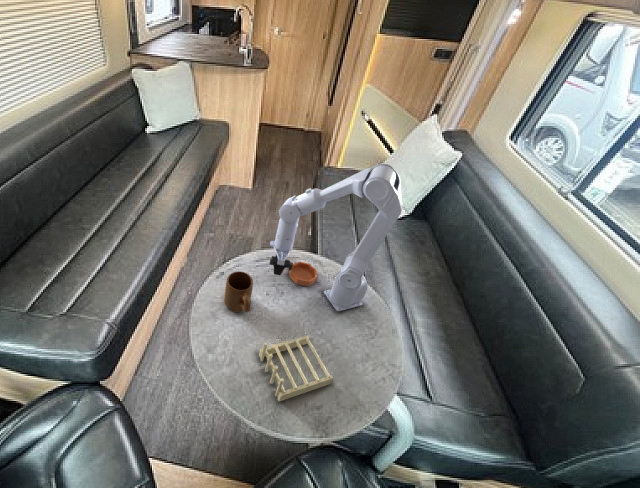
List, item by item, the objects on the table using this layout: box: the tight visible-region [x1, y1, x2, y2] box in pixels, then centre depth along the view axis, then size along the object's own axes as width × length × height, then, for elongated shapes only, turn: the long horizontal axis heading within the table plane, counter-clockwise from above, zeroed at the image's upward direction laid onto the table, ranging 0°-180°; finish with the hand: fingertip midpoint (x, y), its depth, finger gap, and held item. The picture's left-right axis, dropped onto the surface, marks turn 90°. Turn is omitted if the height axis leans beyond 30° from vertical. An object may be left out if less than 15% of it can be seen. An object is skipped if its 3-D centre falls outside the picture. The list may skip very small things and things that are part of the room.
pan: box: [269, 257, 318, 287], centre depth 106 cm, size 16×9×4 cm, turn 80°
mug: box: [223, 271, 254, 313], centre depth 90 cm, size 12×8×9 cm, turn 17°
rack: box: [258, 334, 334, 403], centre depth 78 cm, size 14×12×7 cm
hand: (278, 266), depth 106 cm, fingers open, 7 cm apart
